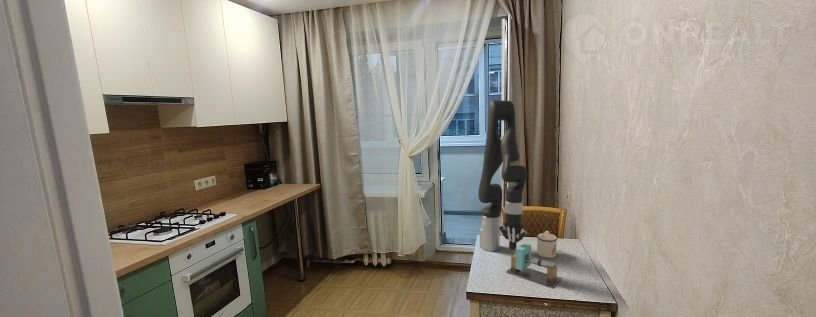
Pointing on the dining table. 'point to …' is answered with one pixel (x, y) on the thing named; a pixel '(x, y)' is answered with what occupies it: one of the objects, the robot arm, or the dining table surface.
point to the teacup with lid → (546, 245)
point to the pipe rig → (533, 275)
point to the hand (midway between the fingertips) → (512, 249)
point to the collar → (522, 256)
